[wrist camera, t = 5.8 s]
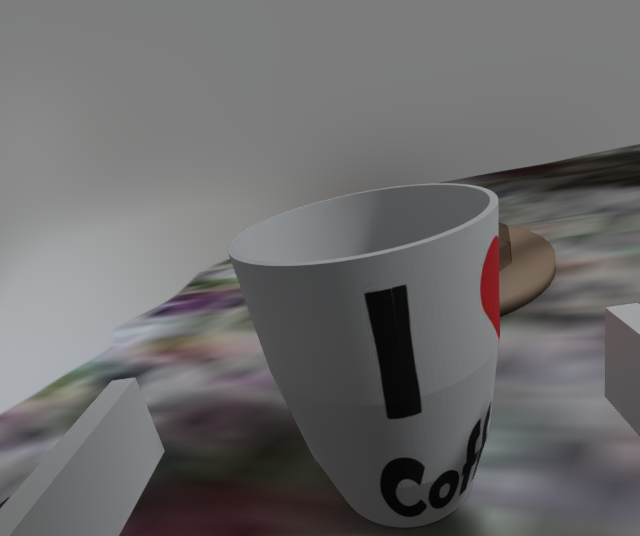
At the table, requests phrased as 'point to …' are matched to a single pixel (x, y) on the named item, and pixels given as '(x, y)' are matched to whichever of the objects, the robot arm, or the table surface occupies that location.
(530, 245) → the round tray
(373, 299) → the cup
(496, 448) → the table surface
